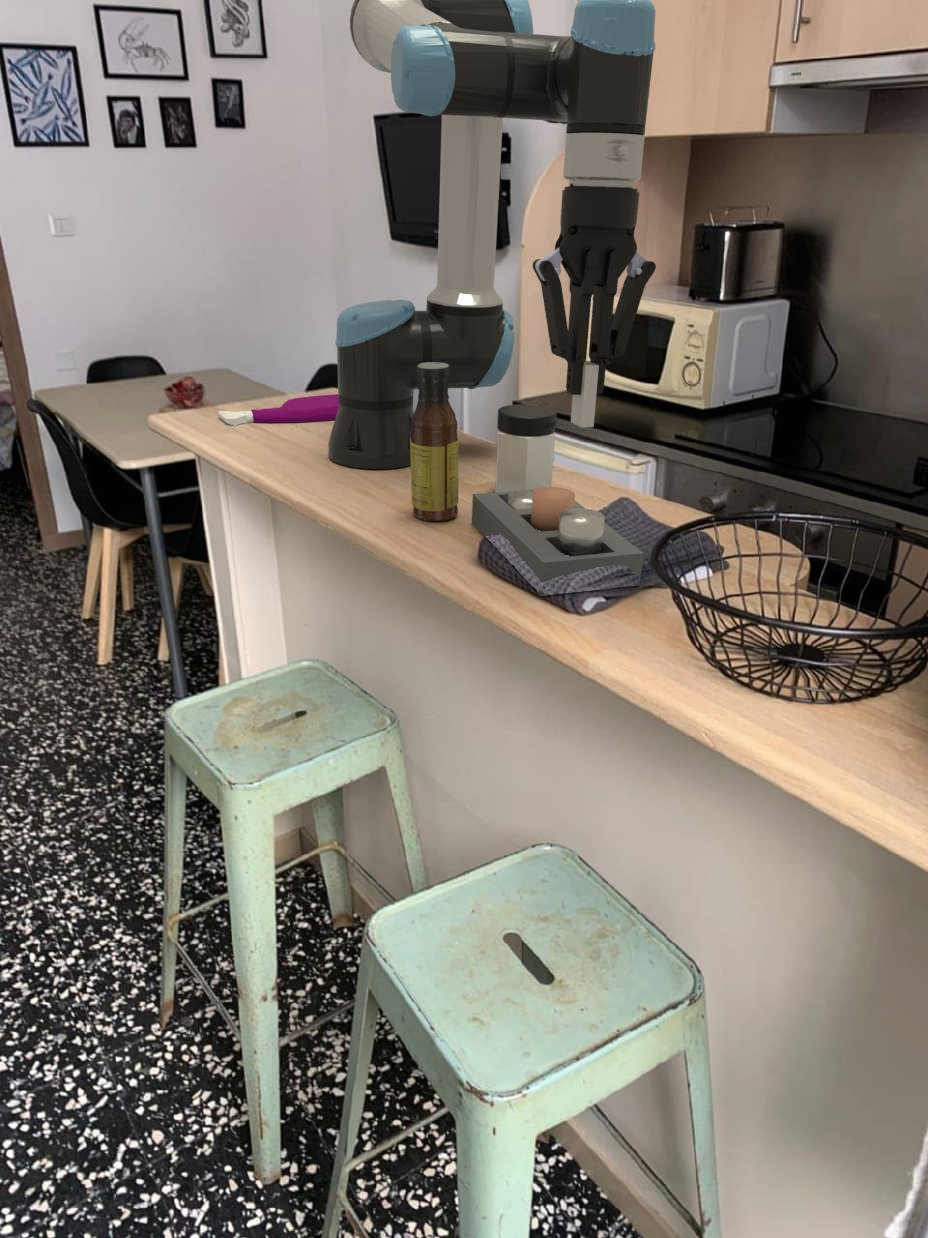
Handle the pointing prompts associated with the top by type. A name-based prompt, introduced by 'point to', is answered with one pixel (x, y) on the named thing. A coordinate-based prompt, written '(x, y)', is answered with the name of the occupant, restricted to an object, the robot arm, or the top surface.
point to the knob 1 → (520, 500)
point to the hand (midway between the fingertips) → (582, 424)
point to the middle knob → (550, 507)
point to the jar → (524, 447)
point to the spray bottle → (289, 411)
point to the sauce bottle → (434, 447)
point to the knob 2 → (580, 532)
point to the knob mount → (547, 540)
